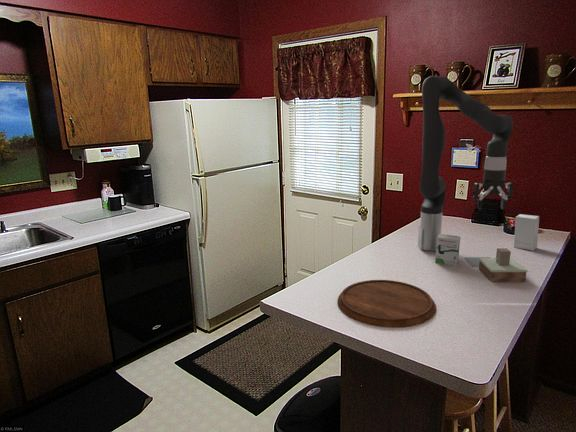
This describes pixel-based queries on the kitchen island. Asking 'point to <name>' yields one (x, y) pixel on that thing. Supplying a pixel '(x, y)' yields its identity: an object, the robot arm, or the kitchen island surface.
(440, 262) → the ink box
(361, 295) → the cutting board
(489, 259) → the lid
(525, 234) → the skincare box
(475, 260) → the felt mat
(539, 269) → the kitchen island surface
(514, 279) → the box
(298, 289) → the kitchen island surface
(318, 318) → the kitchen island surface
